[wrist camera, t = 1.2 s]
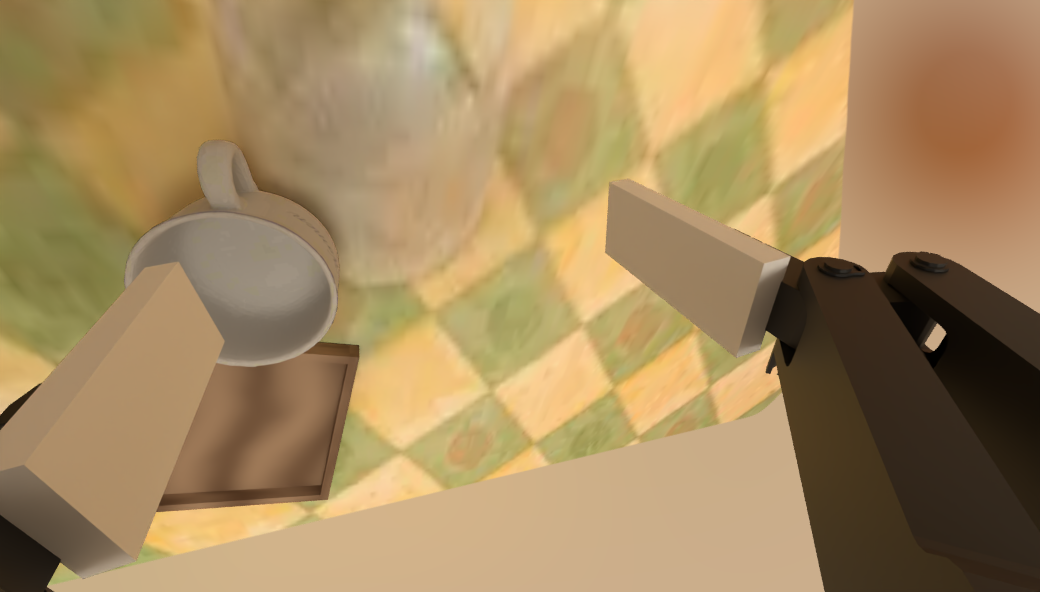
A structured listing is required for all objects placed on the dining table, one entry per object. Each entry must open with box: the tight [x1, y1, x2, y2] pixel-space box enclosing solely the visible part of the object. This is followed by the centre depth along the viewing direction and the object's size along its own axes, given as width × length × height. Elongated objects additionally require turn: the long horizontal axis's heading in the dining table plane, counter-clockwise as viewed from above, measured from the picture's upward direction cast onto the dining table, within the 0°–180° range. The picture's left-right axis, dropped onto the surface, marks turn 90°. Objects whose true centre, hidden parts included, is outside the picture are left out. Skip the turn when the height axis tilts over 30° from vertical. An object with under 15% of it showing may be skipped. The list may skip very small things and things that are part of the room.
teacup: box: [124, 140, 339, 367], centre depth 27 cm, size 14×11×8 cm
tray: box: [156, 342, 359, 512], centre depth 37 cm, size 17×19×2 cm
